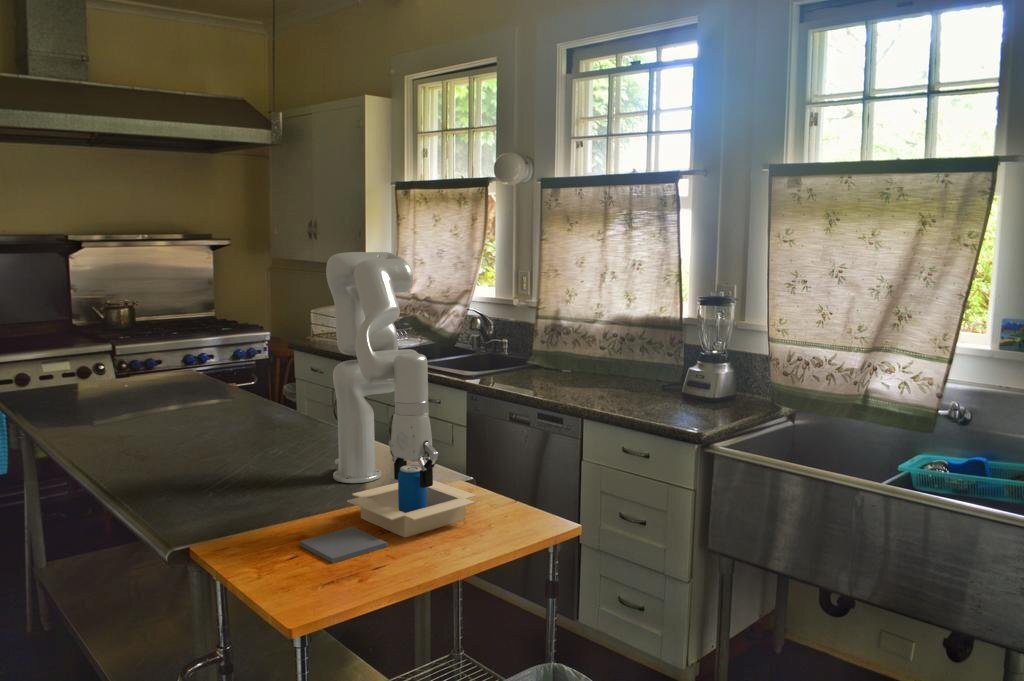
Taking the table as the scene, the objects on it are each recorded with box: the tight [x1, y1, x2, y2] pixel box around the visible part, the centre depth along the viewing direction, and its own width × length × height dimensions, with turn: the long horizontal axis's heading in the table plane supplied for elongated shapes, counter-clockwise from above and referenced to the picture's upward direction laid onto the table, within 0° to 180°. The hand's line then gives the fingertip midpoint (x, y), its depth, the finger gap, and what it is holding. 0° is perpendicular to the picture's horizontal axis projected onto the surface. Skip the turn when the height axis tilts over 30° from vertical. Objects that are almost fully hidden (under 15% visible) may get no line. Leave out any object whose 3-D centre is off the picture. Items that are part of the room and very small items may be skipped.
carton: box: [346, 479, 478, 538], centre depth 197 cm, size 24×24×5 cm
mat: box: [299, 526, 388, 564], centre depth 180 cm, size 13×13×1 cm
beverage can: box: [397, 464, 427, 513], centre depth 197 cm, size 6×6×12 cm
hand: (413, 482), depth 196 cm, fingers open, 9 cm apart
